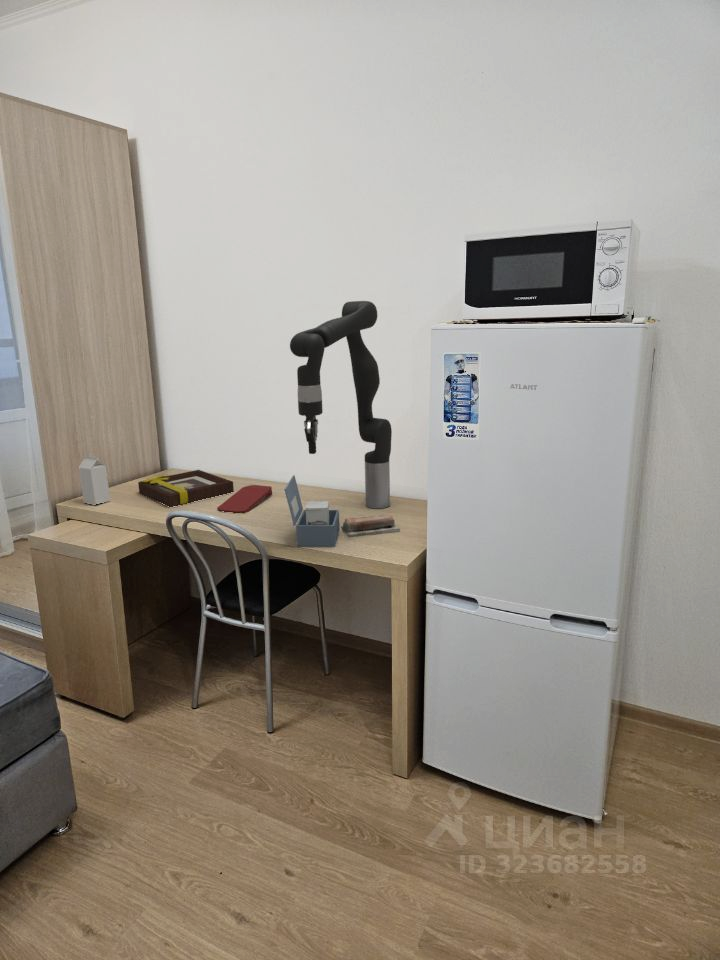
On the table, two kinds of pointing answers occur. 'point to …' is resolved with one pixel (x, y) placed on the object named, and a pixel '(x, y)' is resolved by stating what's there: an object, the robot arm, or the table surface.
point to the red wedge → (245, 499)
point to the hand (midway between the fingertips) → (312, 453)
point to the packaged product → (370, 525)
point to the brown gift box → (184, 487)
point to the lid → (293, 500)
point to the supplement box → (317, 513)
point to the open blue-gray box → (318, 531)
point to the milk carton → (94, 481)
